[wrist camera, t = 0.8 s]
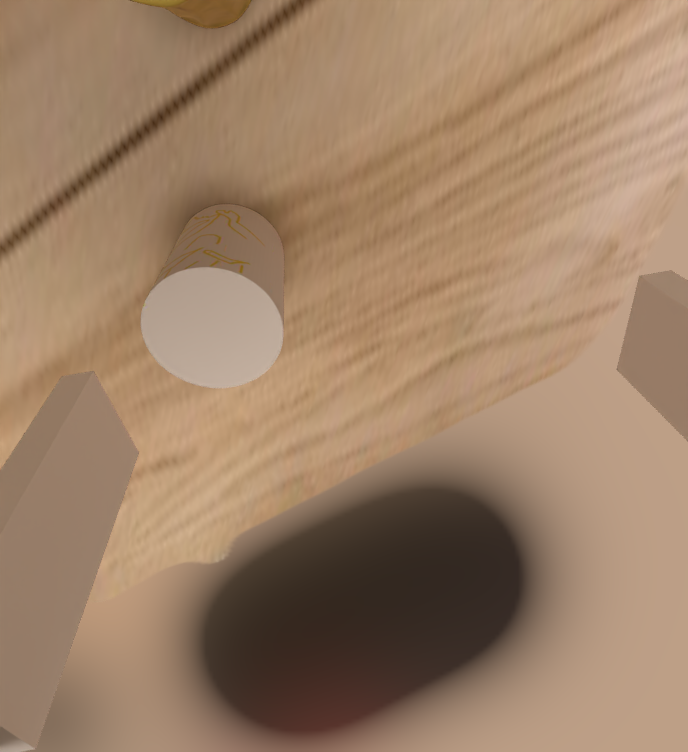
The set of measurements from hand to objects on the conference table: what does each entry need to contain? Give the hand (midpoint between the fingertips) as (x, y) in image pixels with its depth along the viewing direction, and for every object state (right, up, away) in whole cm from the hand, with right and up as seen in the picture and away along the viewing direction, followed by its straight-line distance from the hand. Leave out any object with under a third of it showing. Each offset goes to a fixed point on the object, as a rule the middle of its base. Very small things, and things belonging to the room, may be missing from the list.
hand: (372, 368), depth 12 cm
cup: (-10, +9, +26) cm, 29 cm away
